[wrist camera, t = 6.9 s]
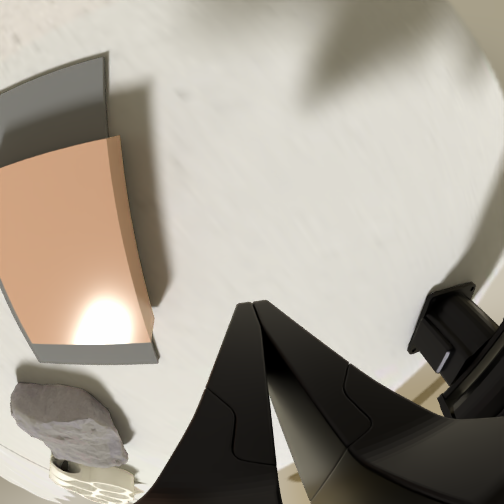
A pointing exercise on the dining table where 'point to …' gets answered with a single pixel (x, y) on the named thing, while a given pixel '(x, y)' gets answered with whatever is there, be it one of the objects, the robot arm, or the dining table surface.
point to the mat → (52, 138)
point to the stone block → (68, 423)
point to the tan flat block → (73, 247)
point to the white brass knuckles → (95, 482)
